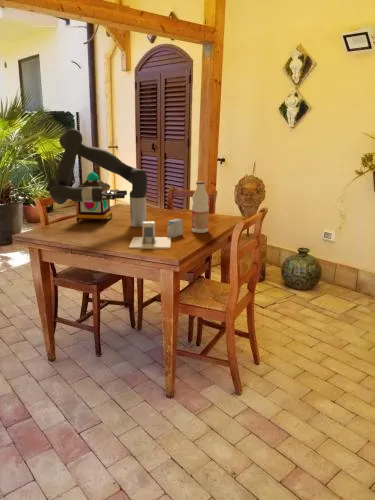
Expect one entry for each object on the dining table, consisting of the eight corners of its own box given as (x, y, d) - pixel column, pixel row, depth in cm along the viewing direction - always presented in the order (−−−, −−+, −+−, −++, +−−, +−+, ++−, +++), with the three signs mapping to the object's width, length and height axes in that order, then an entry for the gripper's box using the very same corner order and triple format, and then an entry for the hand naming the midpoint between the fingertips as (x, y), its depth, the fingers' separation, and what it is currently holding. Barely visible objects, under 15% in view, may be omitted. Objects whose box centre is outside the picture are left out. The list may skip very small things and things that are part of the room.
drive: (143, 240, 210) (143, 221, 207) (155, 240, 210) (154, 221, 207) (142, 242, 206) (142, 223, 203) (154, 242, 206) (154, 223, 203)
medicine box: (176, 233, 227) (176, 218, 225) (182, 235, 225) (182, 219, 222) (167, 236, 221) (167, 220, 219) (173, 237, 219) (173, 222, 216)
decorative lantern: (85, 216, 265) (82, 169, 256) (115, 217, 263) (113, 170, 254) (74, 224, 246) (70, 173, 237) (106, 225, 244) (103, 174, 235)
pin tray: (133, 238, 217) (133, 232, 216) (171, 238, 217) (171, 232, 216) (129, 248, 200) (128, 241, 199) (170, 248, 200) (170, 242, 199)
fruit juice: (200, 234, 226) (201, 183, 218) (188, 231, 232) (188, 181, 224) (211, 231, 233) (212, 181, 225) (199, 228, 239) (199, 180, 231)
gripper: (88, 189, 193) (123, 189, 193) (94, 184, 206) (127, 184, 206) (90, 205, 195) (124, 204, 195) (95, 199, 208) (127, 199, 209)
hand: (125, 194), depth 201 cm, fingers open, 8 cm apart
